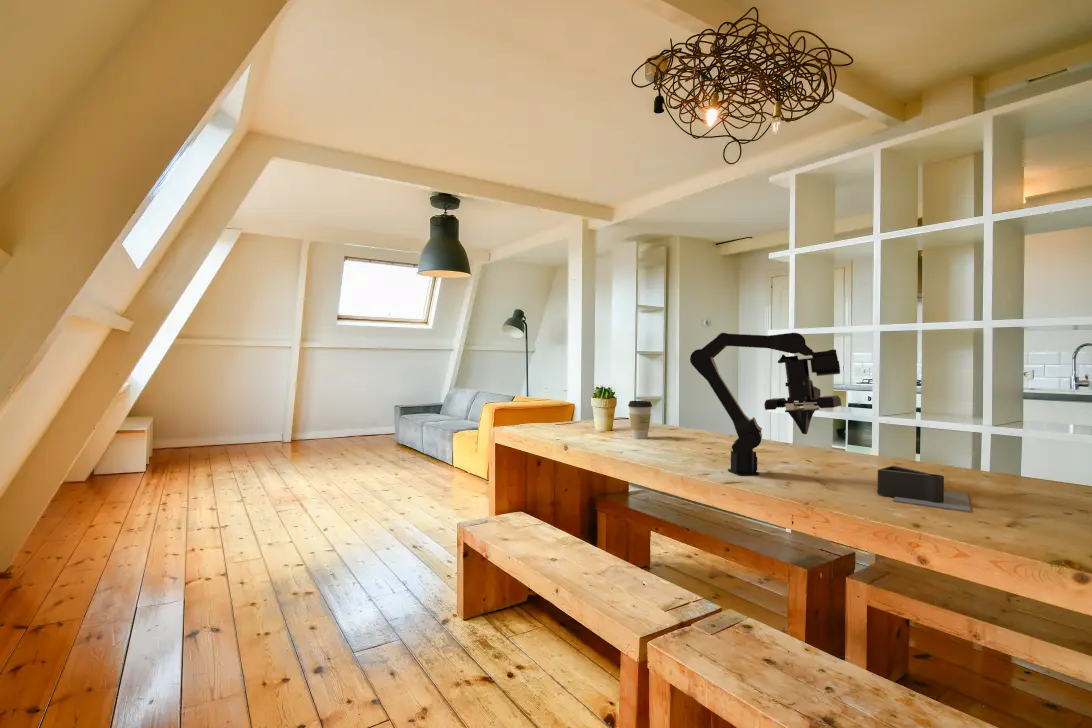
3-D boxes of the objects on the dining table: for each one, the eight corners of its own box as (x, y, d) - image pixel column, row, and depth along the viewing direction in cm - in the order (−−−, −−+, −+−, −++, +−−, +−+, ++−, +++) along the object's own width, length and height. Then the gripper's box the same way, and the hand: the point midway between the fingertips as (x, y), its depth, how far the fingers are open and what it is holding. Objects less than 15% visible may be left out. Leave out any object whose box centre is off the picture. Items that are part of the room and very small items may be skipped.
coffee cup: (654, 439, 212) (654, 402, 212) (629, 439, 212) (629, 402, 212) (649, 436, 222) (649, 400, 221) (626, 435, 222) (626, 400, 222)
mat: (893, 501, 123) (893, 500, 123) (899, 486, 137) (899, 485, 137) (970, 512, 114) (970, 511, 114) (967, 495, 129) (967, 493, 129)
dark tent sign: (893, 465, 133) (950, 474, 123) (893, 489, 133) (950, 499, 123) (877, 469, 128) (935, 479, 118) (876, 494, 128) (935, 505, 118)
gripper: (845, 373, 144) (852, 430, 144) (778, 378, 158) (784, 430, 158) (829, 376, 137) (836, 436, 136) (760, 381, 151) (767, 435, 150)
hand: (805, 434), depth 145 cm, fingers closed
